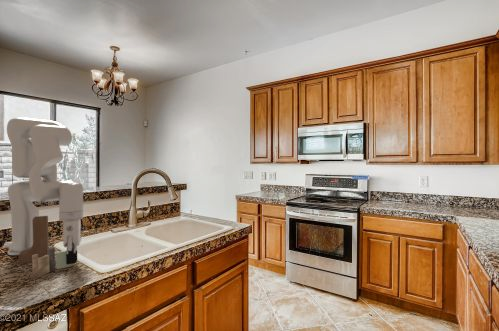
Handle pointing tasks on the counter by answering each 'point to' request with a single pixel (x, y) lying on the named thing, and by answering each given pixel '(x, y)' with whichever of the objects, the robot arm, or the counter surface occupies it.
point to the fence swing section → (62, 260)
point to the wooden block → (37, 240)
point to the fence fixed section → (43, 263)
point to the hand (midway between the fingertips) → (71, 262)
